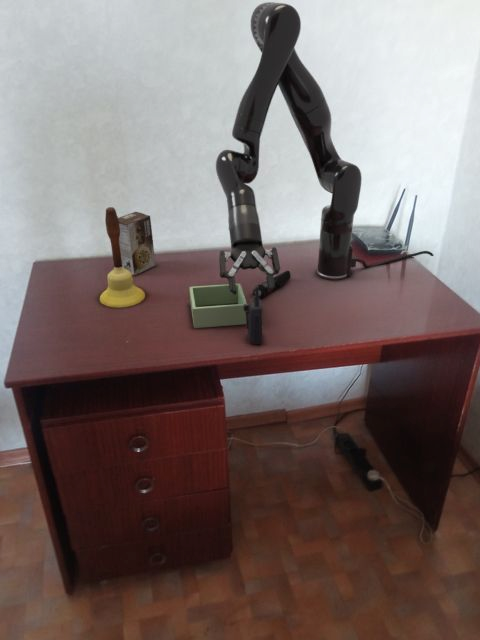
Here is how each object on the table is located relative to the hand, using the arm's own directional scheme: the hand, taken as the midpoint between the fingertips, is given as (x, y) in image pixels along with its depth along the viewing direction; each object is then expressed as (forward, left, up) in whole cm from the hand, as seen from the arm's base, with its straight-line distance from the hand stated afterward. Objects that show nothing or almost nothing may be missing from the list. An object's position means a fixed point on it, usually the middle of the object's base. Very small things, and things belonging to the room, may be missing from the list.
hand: (252, 292), depth 129 cm
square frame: (+7, -12, -12) cm, 18 cm away
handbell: (+32, -26, -12) cm, 43 cm away
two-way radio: (0, +2, -12) cm, 12 cm away
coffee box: (+28, -45, -12) cm, 54 cm away
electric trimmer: (-10, -25, -12) cm, 29 cm away
